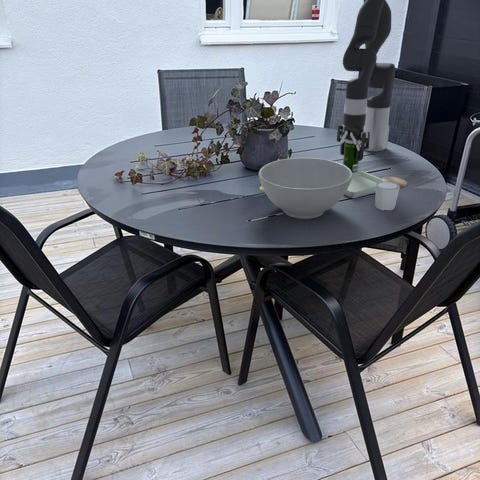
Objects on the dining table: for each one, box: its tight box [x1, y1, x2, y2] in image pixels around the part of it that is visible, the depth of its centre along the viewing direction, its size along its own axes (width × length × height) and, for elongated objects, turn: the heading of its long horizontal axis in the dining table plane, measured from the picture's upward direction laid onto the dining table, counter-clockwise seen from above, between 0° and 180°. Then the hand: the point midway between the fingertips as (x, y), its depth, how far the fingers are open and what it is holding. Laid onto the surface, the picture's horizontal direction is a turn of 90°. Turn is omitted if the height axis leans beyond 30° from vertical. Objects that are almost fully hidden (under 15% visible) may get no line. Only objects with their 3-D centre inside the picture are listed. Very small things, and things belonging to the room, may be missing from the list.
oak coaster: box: [381, 176, 408, 189], centre depth 155 cm, size 9×9×1 cm
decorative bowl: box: [258, 157, 353, 220], centre depth 135 cm, size 27×27×12 cm
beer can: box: [342, 138, 361, 173], centre depth 164 cm, size 5×5×12 cm
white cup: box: [374, 181, 401, 211], centre depth 137 cm, size 7×7×7 cm
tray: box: [343, 170, 386, 200], centre depth 153 cm, size 16×14×2 cm
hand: (351, 157), depth 164 cm, fingers open, 8 cm apart
